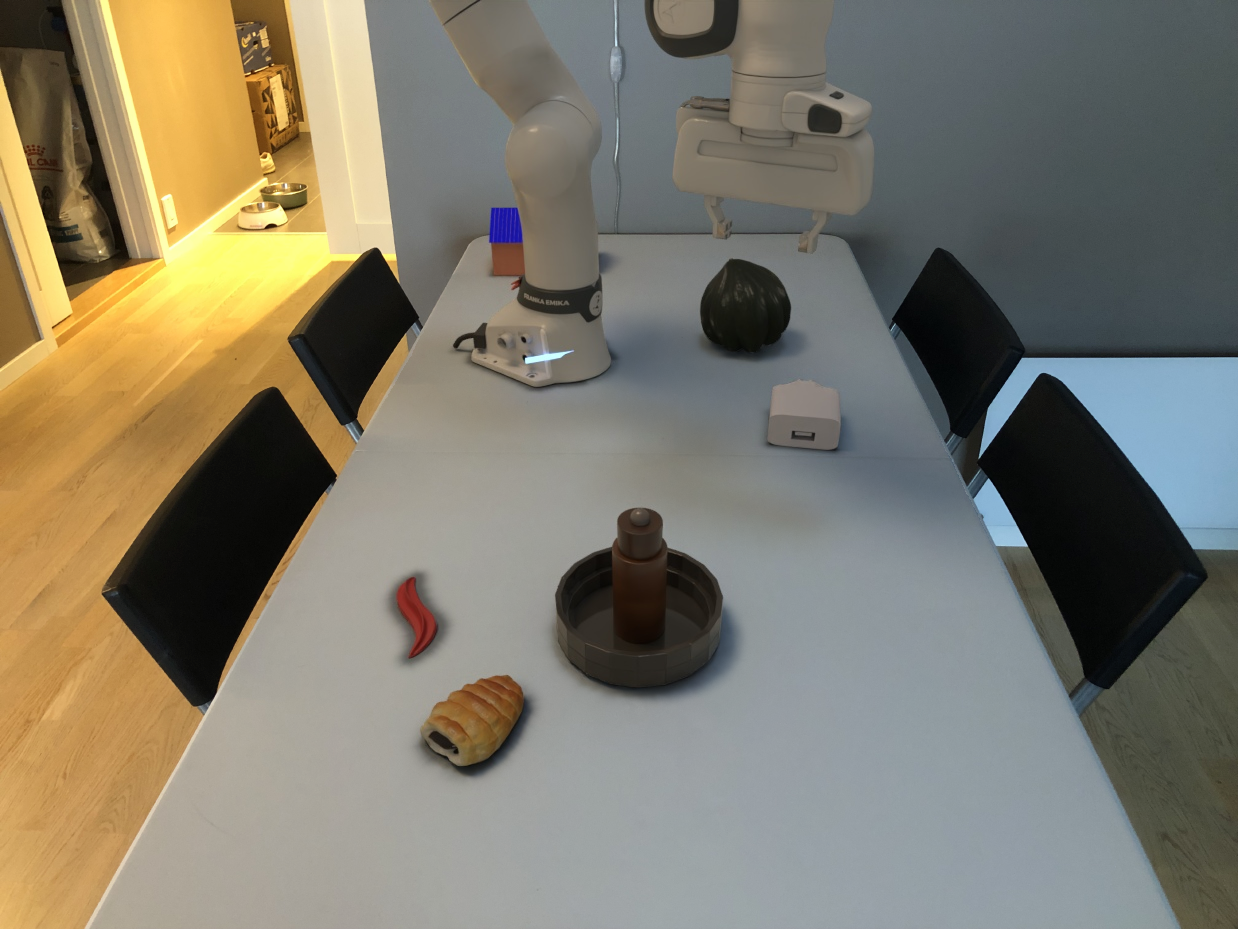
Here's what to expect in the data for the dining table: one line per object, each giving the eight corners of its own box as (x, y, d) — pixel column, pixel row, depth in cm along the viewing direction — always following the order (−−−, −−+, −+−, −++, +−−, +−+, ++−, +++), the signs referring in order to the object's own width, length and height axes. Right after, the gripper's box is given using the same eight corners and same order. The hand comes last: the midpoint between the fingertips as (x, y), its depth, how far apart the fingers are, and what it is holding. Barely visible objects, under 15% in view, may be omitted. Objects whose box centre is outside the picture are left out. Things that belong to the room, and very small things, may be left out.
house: (593, 275, 170) (592, 216, 163) (491, 275, 170) (486, 216, 164) (596, 255, 180) (595, 198, 173) (500, 255, 180) (495, 198, 174)
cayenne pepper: (432, 656, 84) (430, 642, 83) (384, 659, 83) (381, 645, 82) (444, 576, 94) (442, 562, 93) (401, 578, 93) (399, 564, 92)
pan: (526, 653, 84) (522, 619, 82) (607, 559, 96) (606, 527, 93) (676, 715, 77) (678, 680, 75) (744, 606, 89) (747, 573, 87)
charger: (835, 397, 127) (837, 451, 115) (772, 392, 128) (766, 444, 116) (839, 368, 124) (841, 420, 112) (774, 363, 126) (769, 413, 114)
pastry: (488, 676, 81) (485, 647, 79) (544, 709, 78) (542, 679, 76) (415, 743, 75) (409, 713, 73) (473, 781, 72) (468, 751, 70)
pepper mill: (603, 632, 86) (601, 516, 78) (628, 601, 89) (628, 488, 82) (650, 650, 83) (652, 533, 76) (674, 617, 87) (678, 503, 80)
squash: (823, 315, 139) (776, 233, 138) (766, 347, 130) (717, 260, 130) (765, 348, 150) (722, 273, 150) (710, 380, 142) (665, 300, 141)
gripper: (663, 99, 85) (660, 237, 92) (871, 118, 76) (849, 269, 84) (690, 89, 89) (685, 221, 97) (889, 106, 81) (867, 250, 89)
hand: (763, 244), depth 90 cm, fingers open, 8 cm apart
